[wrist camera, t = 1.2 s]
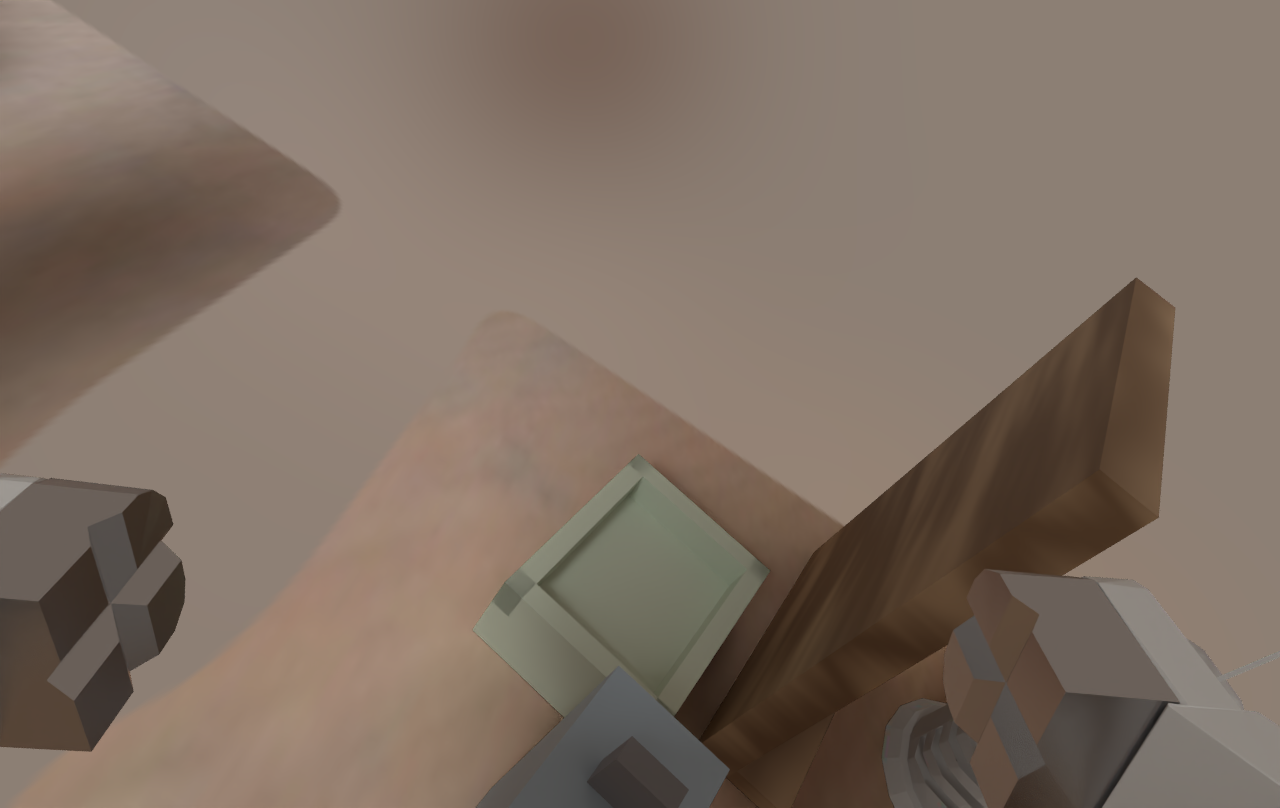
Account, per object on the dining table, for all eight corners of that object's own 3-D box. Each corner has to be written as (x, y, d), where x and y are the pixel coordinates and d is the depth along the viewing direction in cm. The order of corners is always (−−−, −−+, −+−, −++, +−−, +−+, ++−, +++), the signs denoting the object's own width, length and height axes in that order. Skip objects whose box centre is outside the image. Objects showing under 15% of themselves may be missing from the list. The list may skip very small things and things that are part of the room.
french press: (944, 672, 49) (1371, 429, 32) (1082, 862, 44) (1660, 696, 28) (849, 744, 43) (1317, 489, 26) (998, 974, 38) (1679, 846, 21)
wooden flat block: (694, 747, 39) (1099, 468, 23) (813, 552, 50) (1136, 277, 34) (775, 823, 38) (1249, 591, 22) (876, 607, 50) (1235, 353, 34)
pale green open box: (472, 629, 37) (504, 582, 34) (602, 502, 46) (638, 453, 42) (616, 767, 36) (664, 731, 33) (723, 611, 44) (770, 570, 41)
